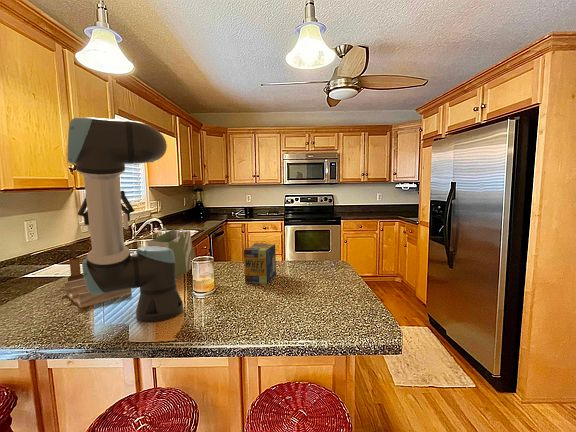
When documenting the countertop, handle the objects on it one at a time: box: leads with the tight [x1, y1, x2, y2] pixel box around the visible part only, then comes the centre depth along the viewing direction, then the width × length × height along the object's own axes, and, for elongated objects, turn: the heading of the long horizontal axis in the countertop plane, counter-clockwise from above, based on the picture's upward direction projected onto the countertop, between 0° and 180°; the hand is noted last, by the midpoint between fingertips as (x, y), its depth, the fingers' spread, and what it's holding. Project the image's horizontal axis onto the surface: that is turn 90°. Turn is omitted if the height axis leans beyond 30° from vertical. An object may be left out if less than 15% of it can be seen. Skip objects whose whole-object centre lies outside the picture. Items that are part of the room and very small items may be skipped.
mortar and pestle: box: [67, 243, 84, 282], centre depth 145 cm, size 7×6×18 cm
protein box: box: [243, 242, 277, 286], centre depth 141 cm, size 10×15×16 cm
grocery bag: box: [147, 227, 196, 280], centre depth 155 cm, size 32×14×23 cm, turn 176°
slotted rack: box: [64, 279, 133, 309], centre depth 127 cm, size 22×18×5 cm
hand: (109, 231), depth 126 cm, fingers open, 13 cm apart
